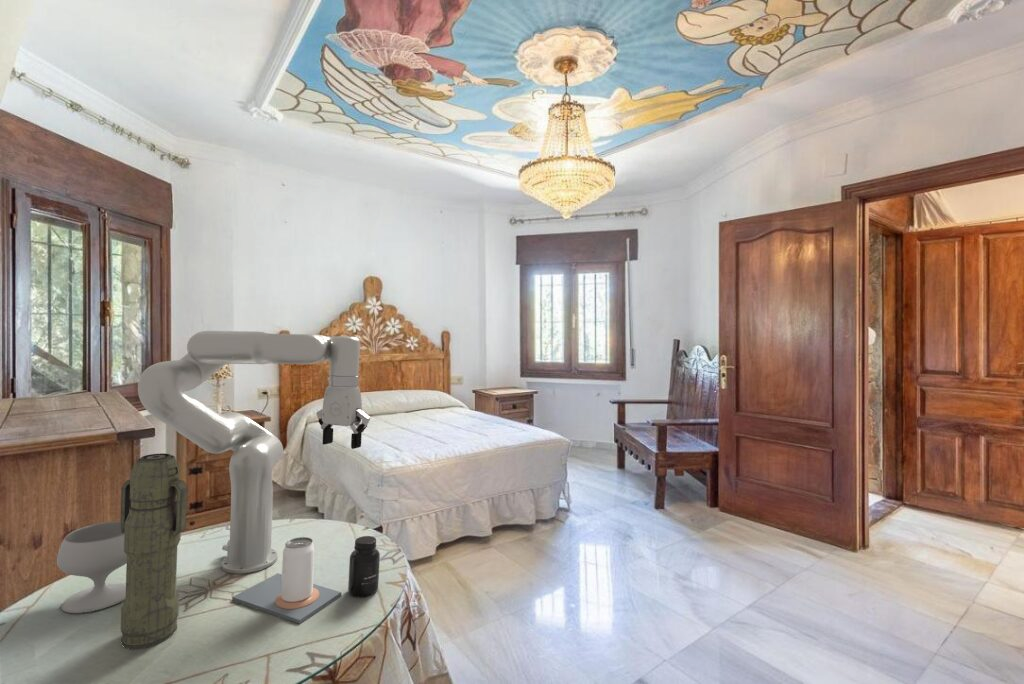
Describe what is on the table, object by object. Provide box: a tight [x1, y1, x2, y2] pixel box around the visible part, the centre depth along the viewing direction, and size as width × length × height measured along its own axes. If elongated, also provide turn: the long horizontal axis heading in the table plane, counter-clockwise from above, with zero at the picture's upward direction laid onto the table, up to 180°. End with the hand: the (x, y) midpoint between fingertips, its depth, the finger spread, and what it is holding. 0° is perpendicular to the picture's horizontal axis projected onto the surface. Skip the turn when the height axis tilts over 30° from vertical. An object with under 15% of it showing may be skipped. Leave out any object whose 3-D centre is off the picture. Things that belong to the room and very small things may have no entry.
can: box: [281, 536, 315, 603], centre depth 106 cm, size 6×6×12 cm
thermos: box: [120, 453, 189, 650], centre depth 92 cm, size 9×12×35 cm
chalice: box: [56, 520, 127, 614], centre depth 103 cm, size 14×14×15 cm
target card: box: [231, 572, 342, 625], centre depth 106 cm, size 20×12×1 cm, turn 68°
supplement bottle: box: [347, 535, 381, 598], centre depth 111 cm, size 7×7×12 cm
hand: (341, 445), depth 126 cm, fingers open, 9 cm apart
